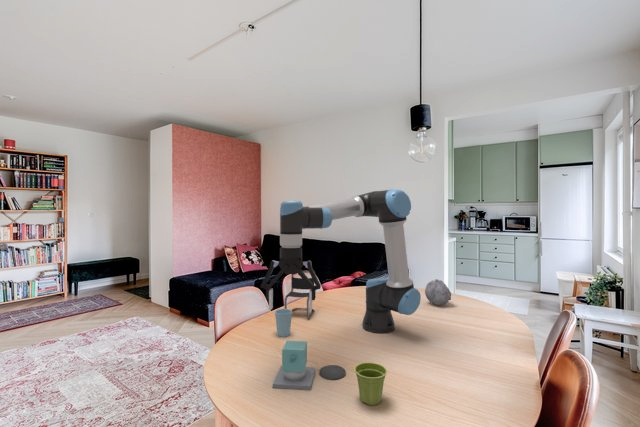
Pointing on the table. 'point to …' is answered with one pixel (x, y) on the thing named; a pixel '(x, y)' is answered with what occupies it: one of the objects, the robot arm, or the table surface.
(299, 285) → the chair
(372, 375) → the plant pot
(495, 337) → the table surface
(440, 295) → the decorative orb
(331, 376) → the coaster
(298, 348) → the teal cube with tab
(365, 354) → the table surface
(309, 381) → the square plate with peg
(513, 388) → the table surface
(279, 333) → the cup
